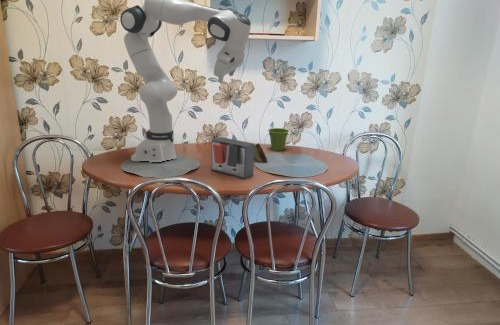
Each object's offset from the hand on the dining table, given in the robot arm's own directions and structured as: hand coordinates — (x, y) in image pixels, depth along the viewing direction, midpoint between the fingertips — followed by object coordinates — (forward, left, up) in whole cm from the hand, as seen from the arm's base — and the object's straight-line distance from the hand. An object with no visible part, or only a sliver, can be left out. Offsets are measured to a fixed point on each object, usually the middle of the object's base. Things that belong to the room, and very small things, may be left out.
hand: (225, 78), depth 166 cm
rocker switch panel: (+4, -15, -41) cm, 44 cm away
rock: (+18, +6, -42) cm, 46 cm away
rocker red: (-2, -16, -36) cm, 40 cm away
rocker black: (+4, -22, -35) cm, 42 cm away
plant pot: (+30, +27, -42) cm, 58 cm away
